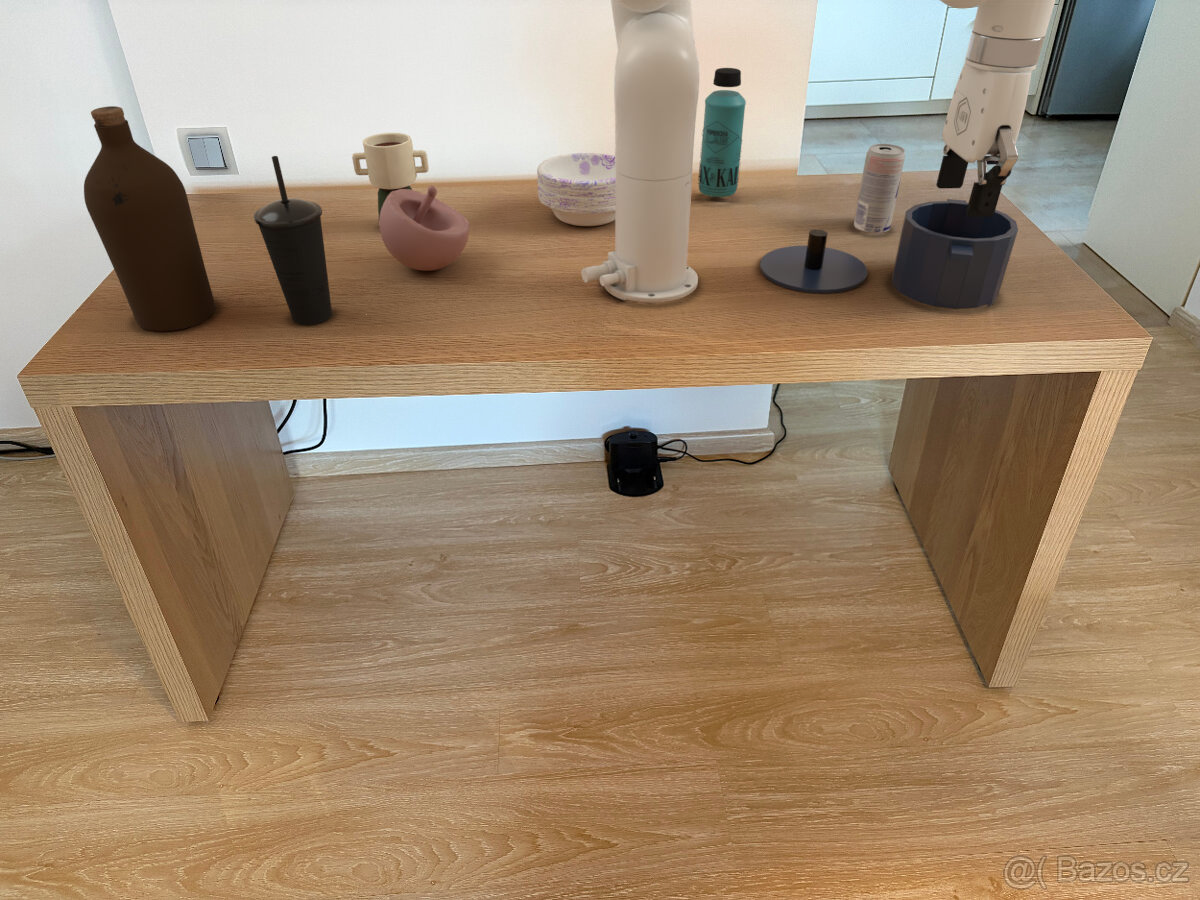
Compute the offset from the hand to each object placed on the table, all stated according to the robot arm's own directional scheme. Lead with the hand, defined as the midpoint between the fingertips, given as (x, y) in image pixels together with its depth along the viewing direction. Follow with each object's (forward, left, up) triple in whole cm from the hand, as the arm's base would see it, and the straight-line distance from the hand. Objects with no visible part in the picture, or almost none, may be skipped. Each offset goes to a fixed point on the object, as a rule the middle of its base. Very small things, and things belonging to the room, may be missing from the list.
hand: (963, 201), depth 104 cm
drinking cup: (-75, +33, -12) cm, 83 cm away
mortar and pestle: (-57, +40, -12) cm, 70 cm away
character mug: (-56, +57, -12) cm, 81 cm away
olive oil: (-90, +42, -12) cm, 100 cm away
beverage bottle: (-7, +42, -12) cm, 44 cm away
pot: (0, 0, -12) cm, 12 cm away
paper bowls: (-29, +46, -12) cm, 55 cm away
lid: (-12, +12, -11) cm, 20 cm away
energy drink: (+6, +20, -12) cm, 24 cm away
